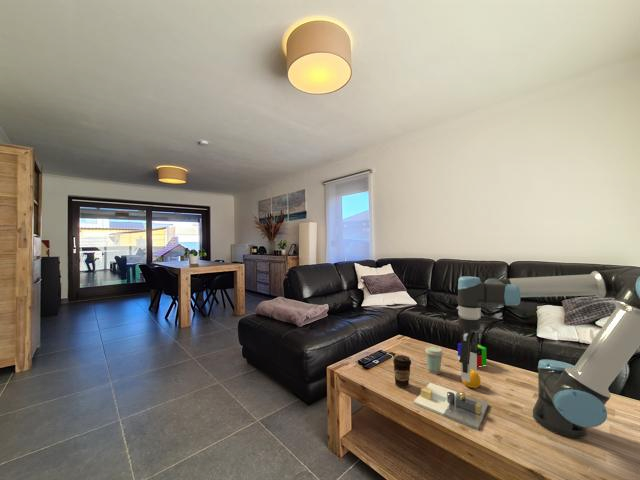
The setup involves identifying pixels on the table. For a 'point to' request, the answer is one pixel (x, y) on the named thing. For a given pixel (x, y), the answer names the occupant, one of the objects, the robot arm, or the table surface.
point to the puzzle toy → (480, 356)
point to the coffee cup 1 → (402, 370)
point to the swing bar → (468, 404)
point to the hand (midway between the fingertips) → (469, 374)
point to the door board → (434, 398)
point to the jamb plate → (466, 413)
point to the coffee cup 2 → (434, 359)
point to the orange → (473, 380)
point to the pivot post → (450, 397)
